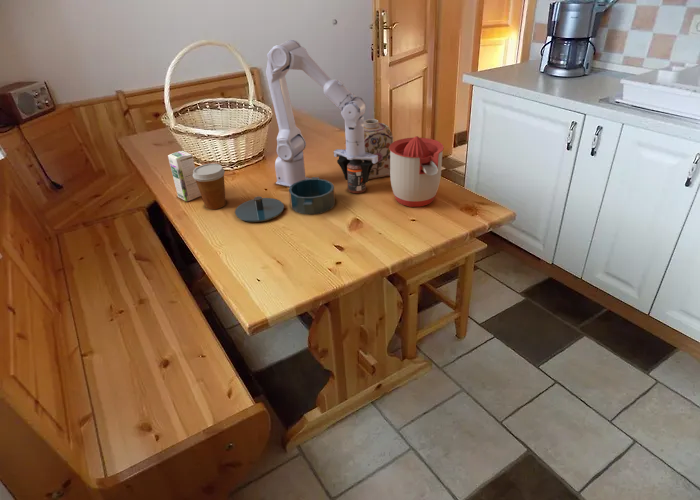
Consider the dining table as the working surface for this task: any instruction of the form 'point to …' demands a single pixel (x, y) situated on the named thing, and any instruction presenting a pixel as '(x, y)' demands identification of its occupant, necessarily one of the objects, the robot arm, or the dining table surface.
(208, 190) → the disposable coffee cup
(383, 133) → the decorative jar
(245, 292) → the dining table surface
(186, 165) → the syrup box
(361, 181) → the supplement bottle
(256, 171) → the dining table surface
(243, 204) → the pot lid
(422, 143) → the citrus juicer
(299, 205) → the pot
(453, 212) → the dining table surface
